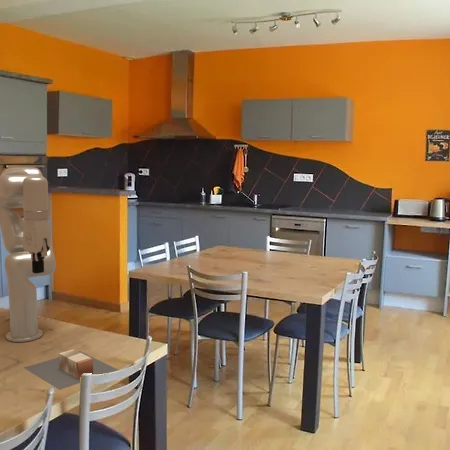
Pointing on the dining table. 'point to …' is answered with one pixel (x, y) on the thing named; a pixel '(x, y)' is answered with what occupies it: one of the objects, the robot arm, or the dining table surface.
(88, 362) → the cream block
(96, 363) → the mat
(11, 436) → the dining table surface
